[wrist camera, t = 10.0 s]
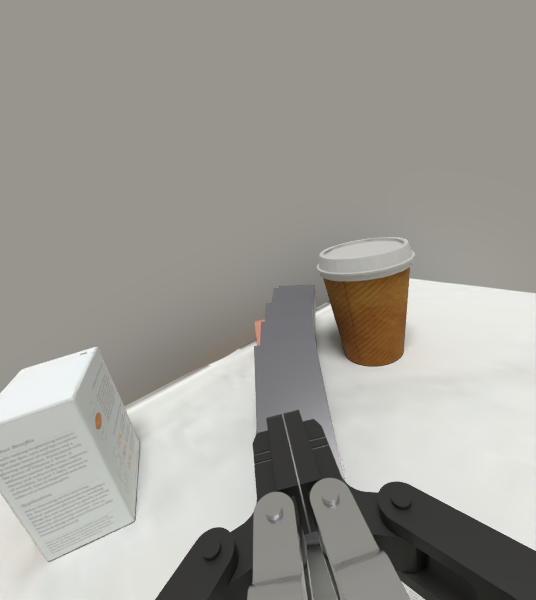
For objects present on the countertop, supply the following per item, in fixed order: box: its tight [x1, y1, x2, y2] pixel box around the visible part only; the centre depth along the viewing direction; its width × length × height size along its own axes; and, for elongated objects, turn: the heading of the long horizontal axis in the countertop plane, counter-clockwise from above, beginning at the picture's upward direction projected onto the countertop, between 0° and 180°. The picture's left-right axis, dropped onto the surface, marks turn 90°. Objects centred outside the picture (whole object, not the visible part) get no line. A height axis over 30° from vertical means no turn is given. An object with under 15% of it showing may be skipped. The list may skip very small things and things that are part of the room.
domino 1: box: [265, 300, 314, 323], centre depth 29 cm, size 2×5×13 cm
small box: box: [0, 347, 140, 561], centre depth 22 cm, size 8×6×10 cm
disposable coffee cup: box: [317, 237, 415, 366], centre depth 32 cm, size 10×10×12 cm
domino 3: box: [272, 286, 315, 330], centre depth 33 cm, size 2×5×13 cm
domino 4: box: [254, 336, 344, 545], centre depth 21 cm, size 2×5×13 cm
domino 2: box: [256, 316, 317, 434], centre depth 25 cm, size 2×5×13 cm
